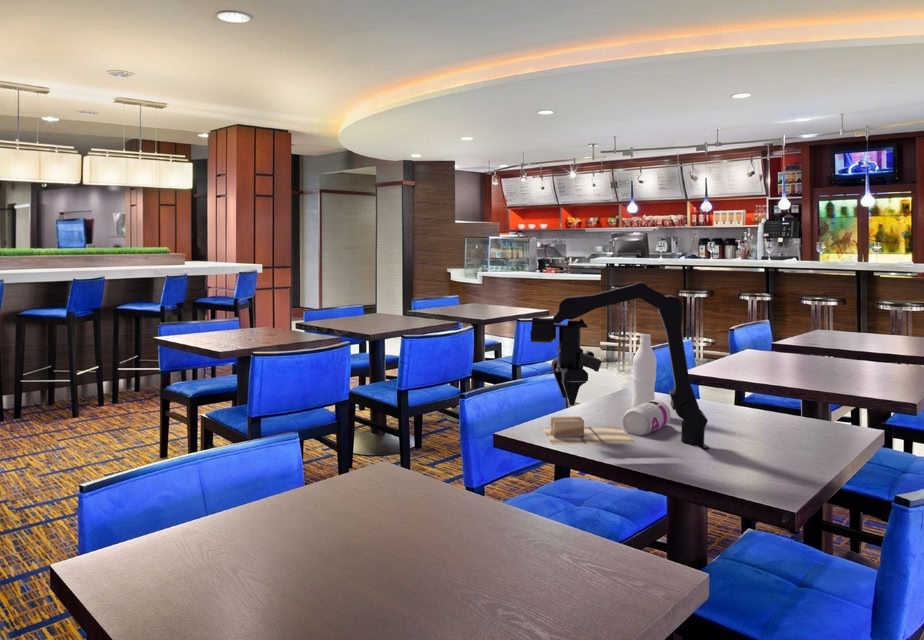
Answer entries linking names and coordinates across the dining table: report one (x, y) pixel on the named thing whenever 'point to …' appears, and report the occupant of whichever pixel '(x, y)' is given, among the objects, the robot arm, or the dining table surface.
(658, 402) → the supplement can
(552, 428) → the block
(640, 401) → the water bottle
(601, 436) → the board
